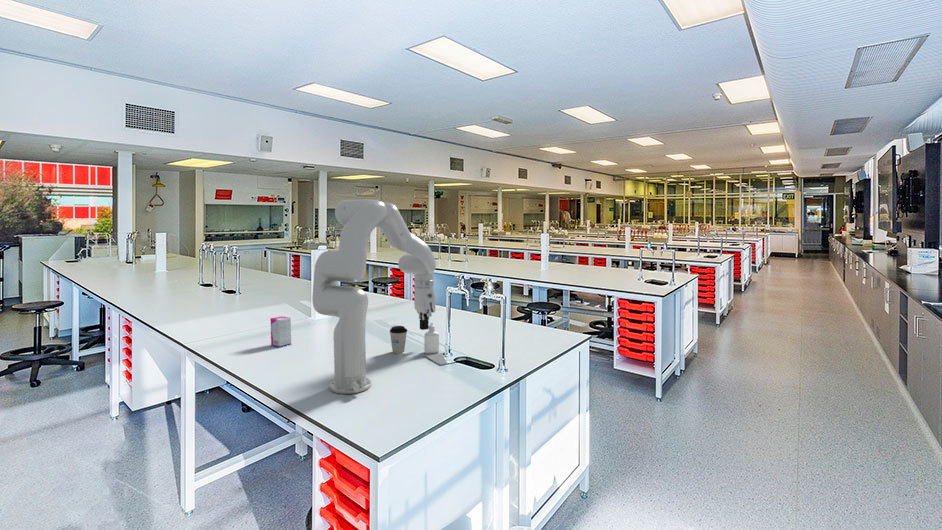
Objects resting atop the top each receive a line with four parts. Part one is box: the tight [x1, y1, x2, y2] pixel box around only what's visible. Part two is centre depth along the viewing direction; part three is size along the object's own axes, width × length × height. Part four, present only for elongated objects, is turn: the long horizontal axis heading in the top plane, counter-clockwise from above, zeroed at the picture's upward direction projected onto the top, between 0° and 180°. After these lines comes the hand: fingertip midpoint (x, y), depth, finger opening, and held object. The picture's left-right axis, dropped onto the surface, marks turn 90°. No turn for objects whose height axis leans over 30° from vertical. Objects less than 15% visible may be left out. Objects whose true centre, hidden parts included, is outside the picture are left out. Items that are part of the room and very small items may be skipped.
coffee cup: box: [389, 325, 408, 355], centre depth 180 cm, size 7×7×10 cm
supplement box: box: [270, 315, 292, 349], centre depth 188 cm, size 6×6×12 cm
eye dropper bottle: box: [423, 321, 440, 354], centre depth 180 cm, size 4×6×12 cm
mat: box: [424, 352, 448, 366], centre depth 172 cm, size 12×10×1 cm
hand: (424, 329), depth 185 cm, fingers closed
